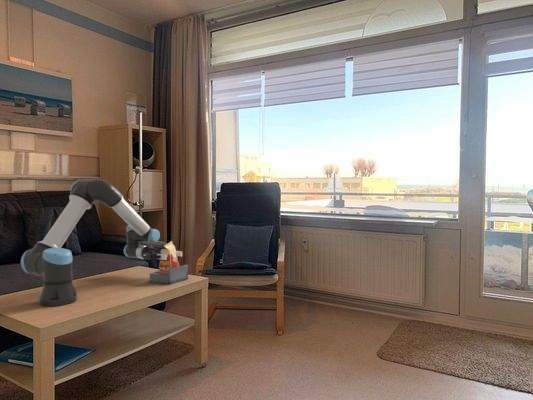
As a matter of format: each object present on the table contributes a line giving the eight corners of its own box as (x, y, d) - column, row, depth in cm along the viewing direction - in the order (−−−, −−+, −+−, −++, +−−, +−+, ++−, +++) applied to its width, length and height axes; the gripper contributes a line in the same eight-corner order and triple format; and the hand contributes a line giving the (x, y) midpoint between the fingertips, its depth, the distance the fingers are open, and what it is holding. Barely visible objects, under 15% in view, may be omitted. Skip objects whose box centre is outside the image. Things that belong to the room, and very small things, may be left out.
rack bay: (170, 284, 210) (170, 269, 210) (150, 281, 218) (149, 266, 218) (188, 279, 222) (188, 265, 222) (168, 276, 230) (168, 262, 230)
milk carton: (168, 275, 226) (168, 240, 226) (181, 276, 222) (180, 241, 221) (157, 278, 218) (156, 242, 218) (170, 280, 214) (169, 242, 213)
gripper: (161, 256, 239) (188, 259, 228) (129, 262, 219) (158, 266, 208) (161, 243, 239) (188, 246, 228) (129, 248, 218) (157, 251, 207)
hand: (174, 255), depth 218 cm, fingers open, 11 cm apart
